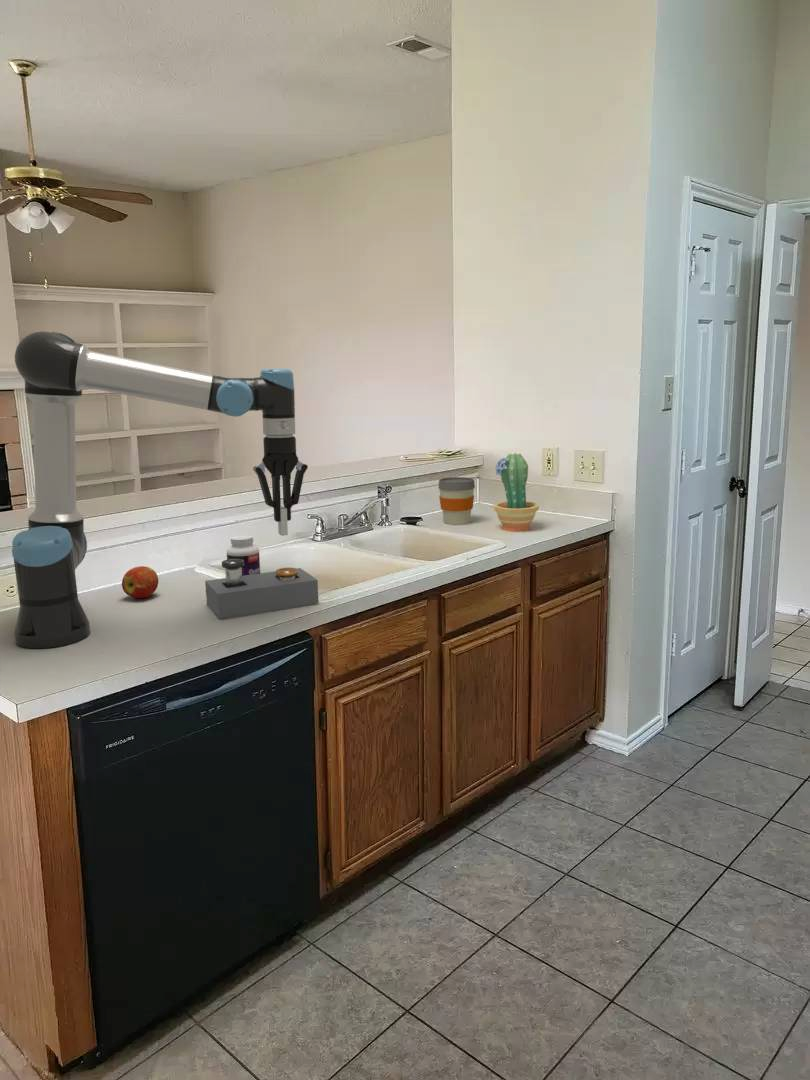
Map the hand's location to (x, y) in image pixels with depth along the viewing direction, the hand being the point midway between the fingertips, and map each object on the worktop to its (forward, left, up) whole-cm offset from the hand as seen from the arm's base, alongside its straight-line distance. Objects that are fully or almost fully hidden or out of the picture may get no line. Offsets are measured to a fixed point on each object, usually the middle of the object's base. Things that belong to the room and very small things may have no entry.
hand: (283, 534), depth 202 cm
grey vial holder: (-6, 0, -17) cm, 18 cm away
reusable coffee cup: (+81, +61, -17) cm, 103 cm away
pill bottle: (-7, +12, -17) cm, 22 cm away
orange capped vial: (0, 0, -17) cm, 17 cm away
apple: (-31, +21, -17) cm, 41 cm away
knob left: (-13, 0, -13) cm, 18 cm away
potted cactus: (+93, +42, -17) cm, 103 cm away
